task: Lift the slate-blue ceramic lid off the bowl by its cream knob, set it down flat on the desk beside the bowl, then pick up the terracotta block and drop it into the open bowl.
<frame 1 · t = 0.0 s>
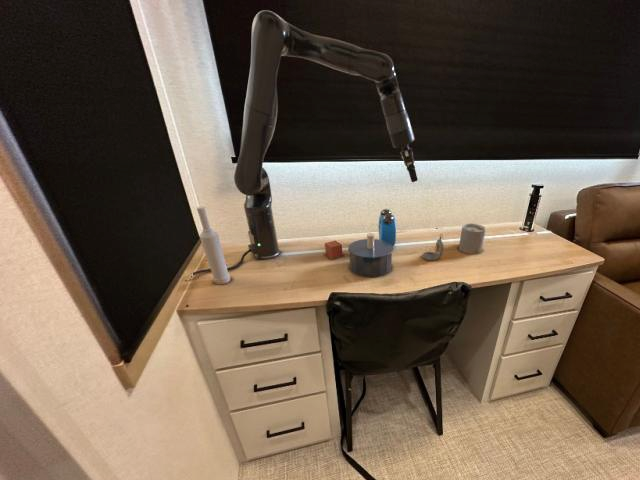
hand: (414, 178, 110), 31 cm above the table, tool tilted 20°, fingers open, 8 cm apart
grey cylinder: (468, 247, 141), on the table
lid: (370, 249, 116), point 7 cm above the table, touching bowl
bottle: (222, 281, 107), on the table
block: (334, 255, 127), on the table
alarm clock: (386, 245, 139), on the table
bowl: (370, 267, 120), on the table
pocket watch: (433, 258, 130), on the table
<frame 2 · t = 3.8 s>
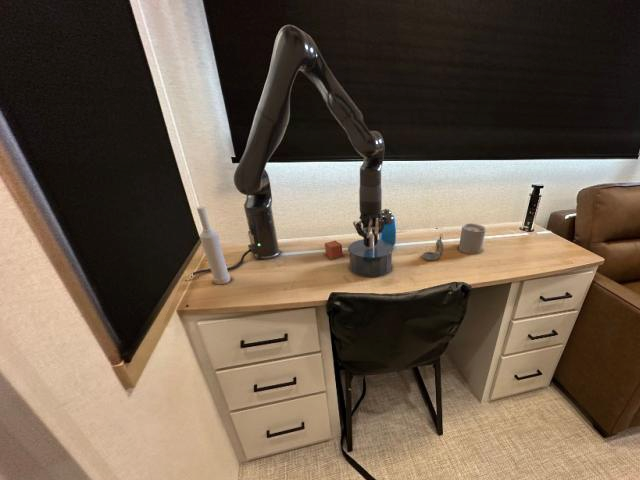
hand: (370, 245, 115), 9 cm above the table, tool pointing down, fingers closed on lid, 2 cm apart
lid: (370, 249, 116), point 8 cm above the table, touching bowl, gripper
everything else where it was.
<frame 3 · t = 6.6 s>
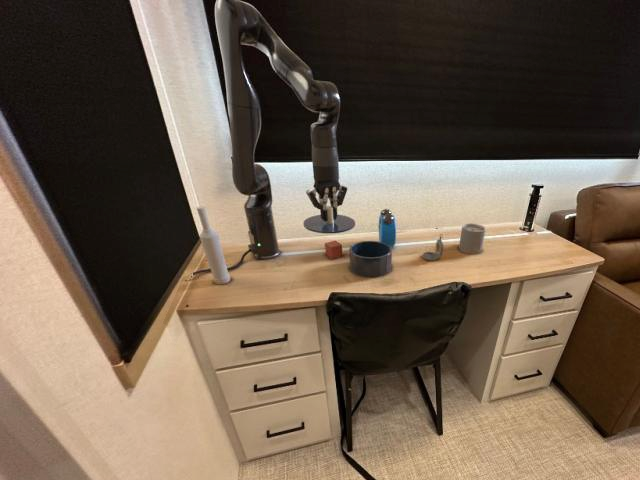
hand: (329, 219, 102), 21 cm above the table, tool pointing down, fingers closed on lid, 2 cm apart
lid: (329, 224, 103), point 19 cm above the table, touching gripper
everything else where it was.
when the fingers open (2 cm above the table, at t = 9.9 s): lid stays where it is, point 1 cm above the table.
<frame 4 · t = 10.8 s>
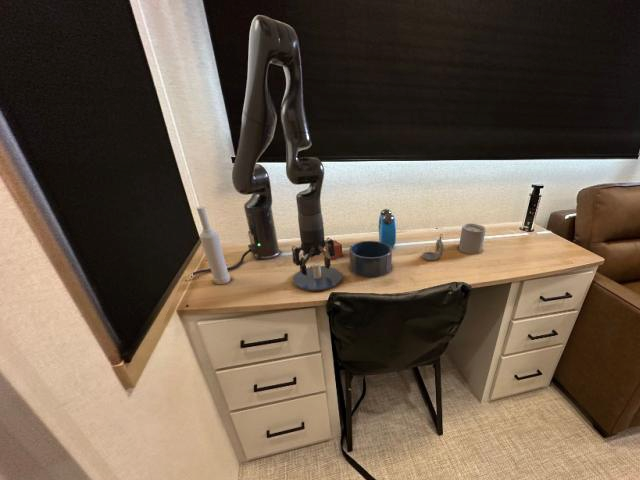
hand: (316, 271, 108), 3 cm above the table, tool pointing down, fingers open, 8 cm apart
lid: (317, 278, 110), point 1 cm above the table
everything else where it was.
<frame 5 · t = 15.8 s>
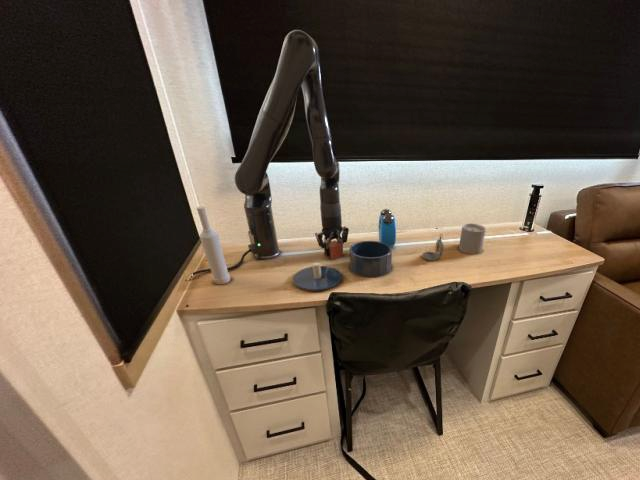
hand: (334, 254, 127), 0 cm above the table, tool pointing down, fingers closed on block, 5 cm apart
block: (334, 255, 127), on the table, touching gripper
everything else where it was.
when the fingers open (7 cm above the table, at t = 22.8 s): block drops 6 cm, resting on bowl.
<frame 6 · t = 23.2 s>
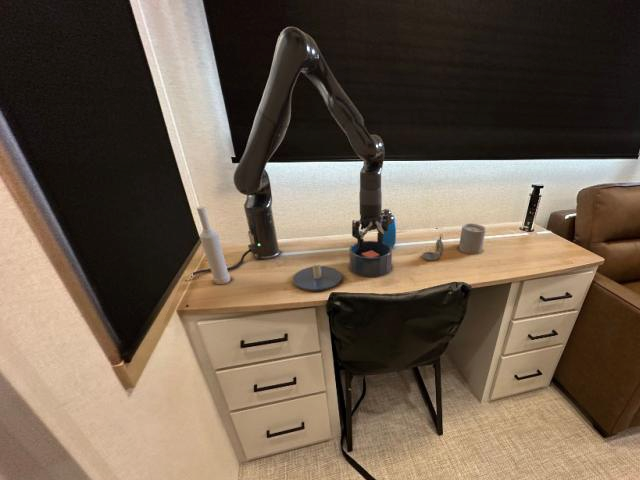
hand: (370, 245, 115), 9 cm above the table, tool pointing down, fingers open, 8 cm apart
block: (370, 265, 120), point 1 cm above the table, touching bowl
everything else where it was.
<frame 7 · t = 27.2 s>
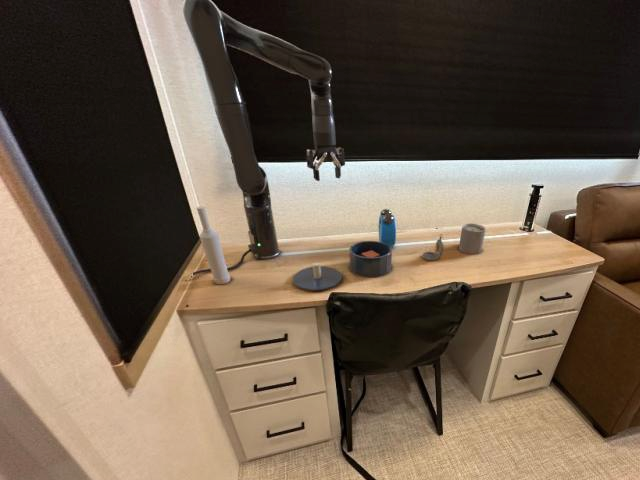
hand: (327, 179, 118), 28 cm above the table, tool pointing down, fingers open, 8 cm apart
nothing on the table moved.
at the end: lid inside the target area (0.2 cm from its centre), point 0.6 cm above the table; lid tilted 0°; block inside the target area in the bowl (0.1 cm from its centre), point 0.5 cm above the bowl's base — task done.
